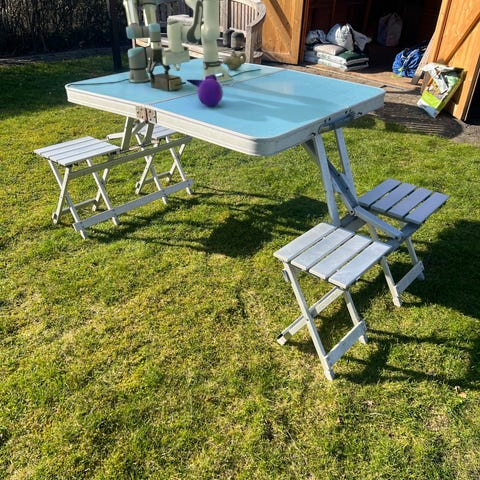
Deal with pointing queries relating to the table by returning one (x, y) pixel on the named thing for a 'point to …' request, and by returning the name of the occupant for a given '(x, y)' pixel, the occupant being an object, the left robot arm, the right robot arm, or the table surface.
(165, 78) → the brown wooden slab
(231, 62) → the teapot
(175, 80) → the drawer
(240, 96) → the table surface
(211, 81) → the toy
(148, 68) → the left robot arm
